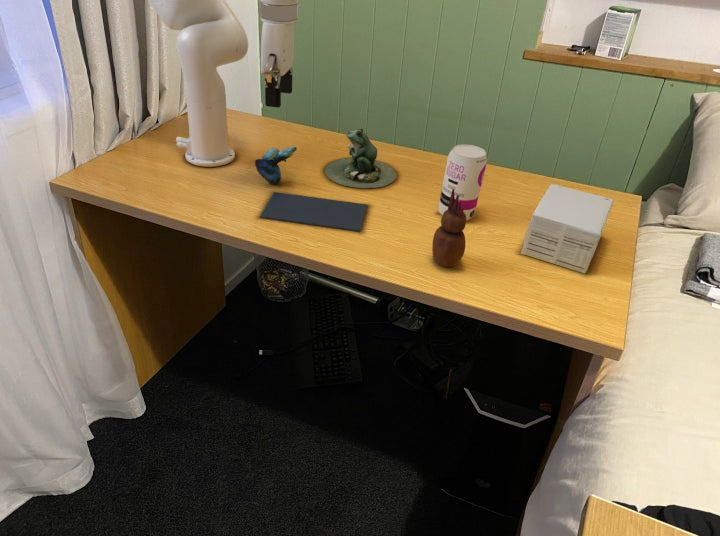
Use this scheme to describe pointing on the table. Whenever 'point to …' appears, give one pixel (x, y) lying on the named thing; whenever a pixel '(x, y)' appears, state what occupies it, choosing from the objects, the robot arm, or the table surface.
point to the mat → (315, 211)
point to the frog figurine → (360, 165)
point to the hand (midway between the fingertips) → (279, 99)
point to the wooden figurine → (450, 235)
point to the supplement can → (463, 178)
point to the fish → (273, 163)
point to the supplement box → (567, 227)
